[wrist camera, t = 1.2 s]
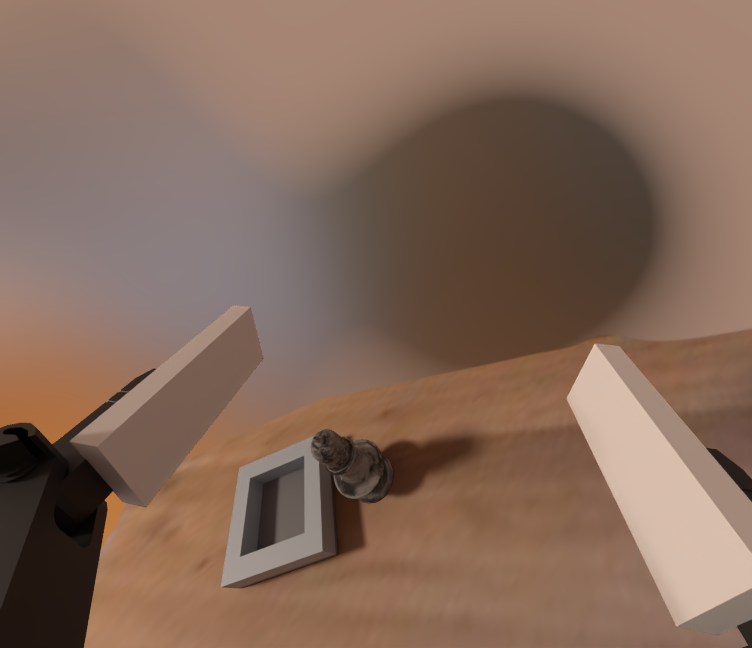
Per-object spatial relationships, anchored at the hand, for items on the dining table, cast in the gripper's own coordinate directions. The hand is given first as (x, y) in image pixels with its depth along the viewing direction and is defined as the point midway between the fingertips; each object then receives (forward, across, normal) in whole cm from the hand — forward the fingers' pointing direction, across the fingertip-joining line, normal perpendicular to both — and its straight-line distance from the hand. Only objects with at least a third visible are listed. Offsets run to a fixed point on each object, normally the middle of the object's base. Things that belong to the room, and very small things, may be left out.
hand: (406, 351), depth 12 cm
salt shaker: (+9, -3, -26) cm, 28 cm away
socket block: (+6, -12, -31) cm, 34 cm away
